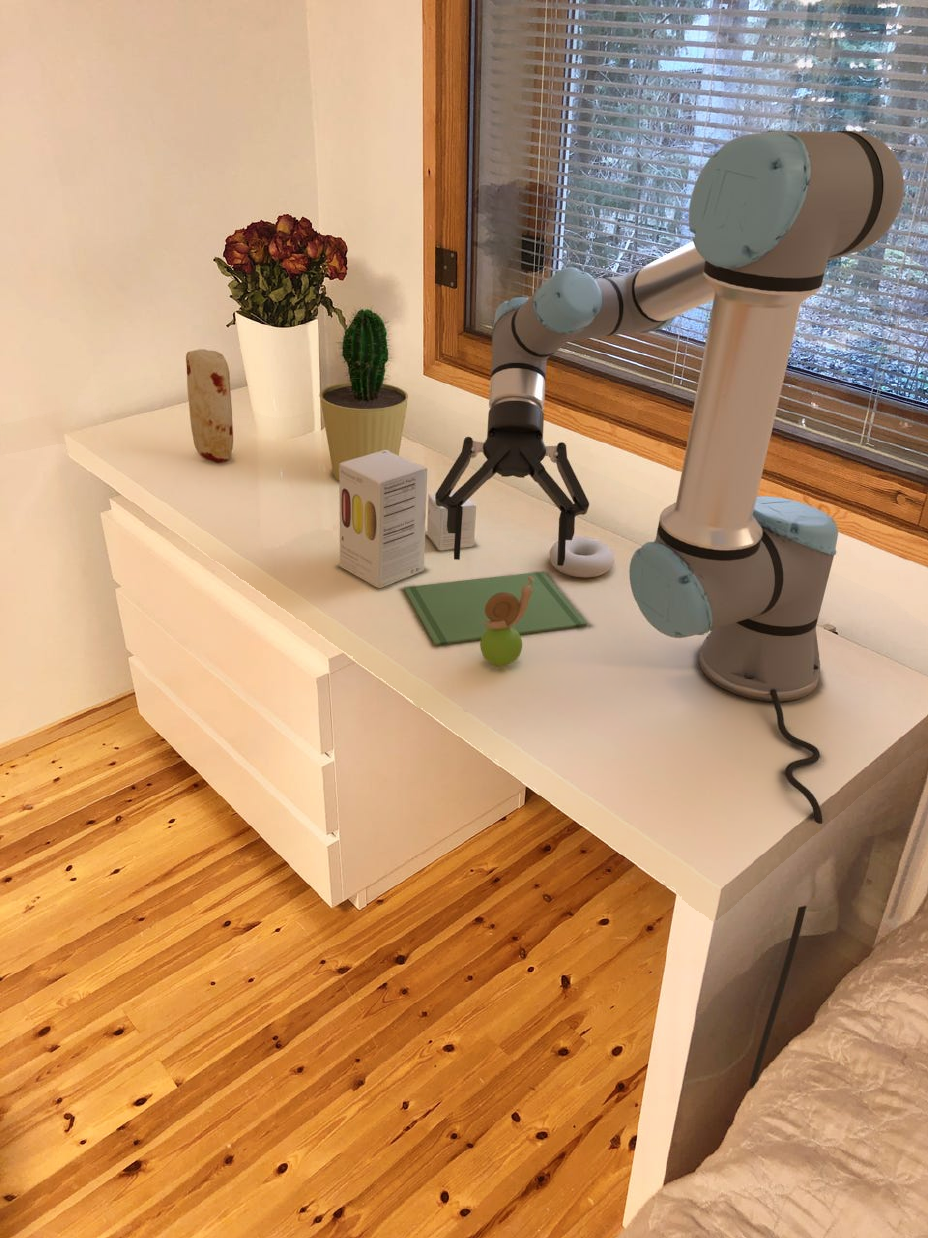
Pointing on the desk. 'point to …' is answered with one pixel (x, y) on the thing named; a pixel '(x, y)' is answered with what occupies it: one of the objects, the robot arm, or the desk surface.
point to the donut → (583, 557)
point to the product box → (439, 524)
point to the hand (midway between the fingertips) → (508, 559)
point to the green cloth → (462, 605)
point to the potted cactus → (363, 396)
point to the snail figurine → (504, 626)
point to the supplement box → (382, 517)
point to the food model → (210, 404)
